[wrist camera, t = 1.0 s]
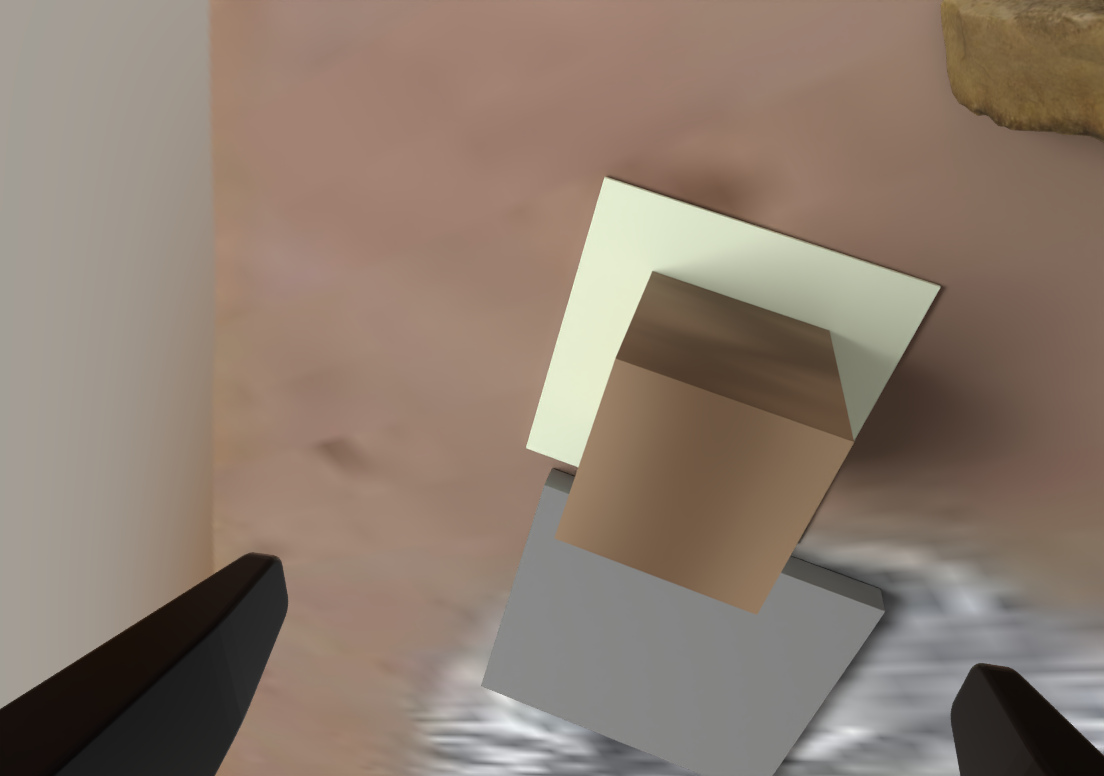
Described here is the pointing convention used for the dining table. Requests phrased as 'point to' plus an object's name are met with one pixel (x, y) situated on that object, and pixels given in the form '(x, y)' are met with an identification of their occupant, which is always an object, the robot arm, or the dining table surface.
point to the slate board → (673, 652)
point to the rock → (1028, 62)
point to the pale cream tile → (726, 268)
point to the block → (709, 444)
